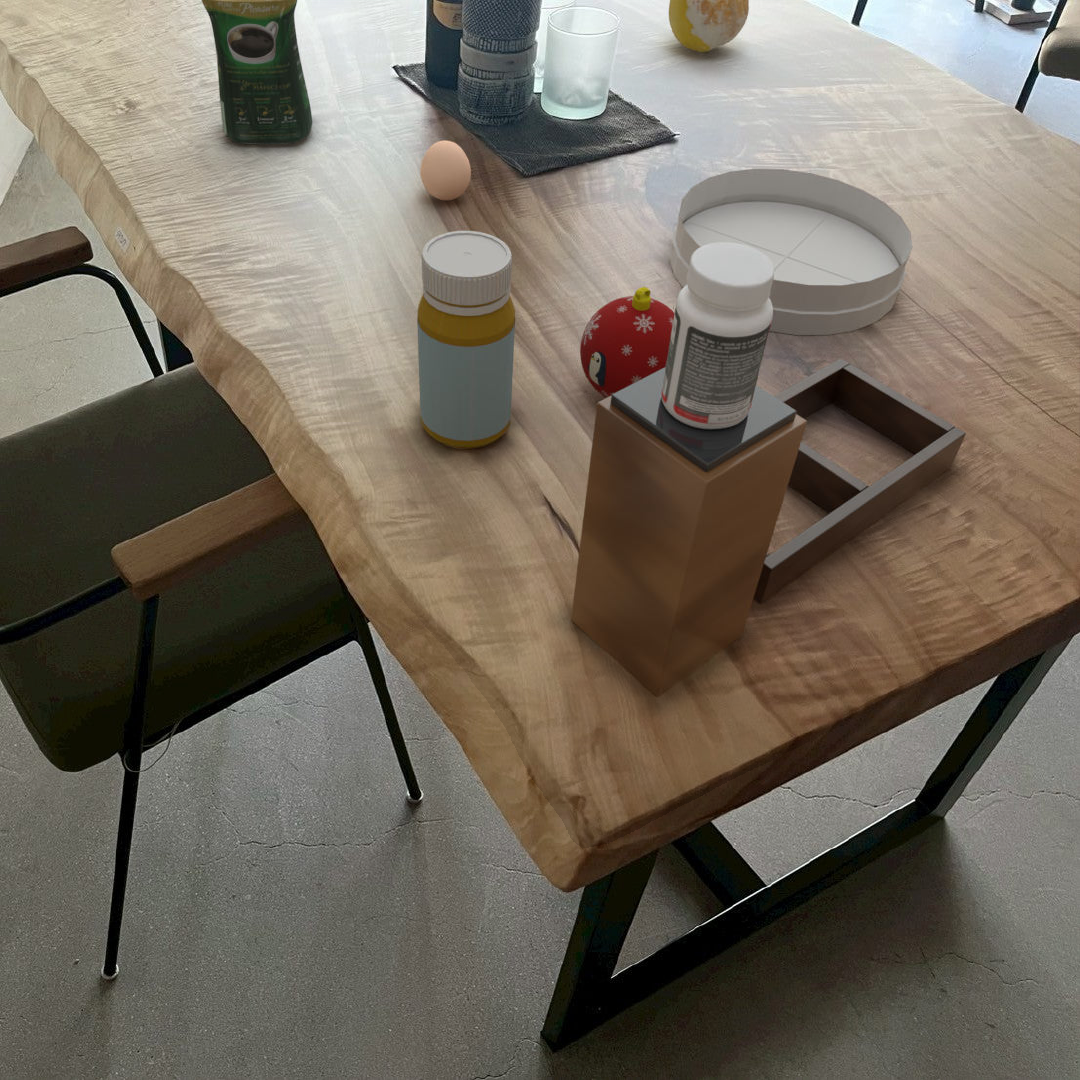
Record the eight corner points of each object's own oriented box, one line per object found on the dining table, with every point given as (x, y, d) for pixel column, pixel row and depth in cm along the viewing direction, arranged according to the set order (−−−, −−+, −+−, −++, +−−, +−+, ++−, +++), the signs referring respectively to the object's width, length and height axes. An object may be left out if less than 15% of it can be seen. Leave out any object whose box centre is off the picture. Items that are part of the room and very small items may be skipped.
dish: (930, 260, 104) (946, 214, 101) (848, 365, 91) (864, 316, 87) (729, 192, 112) (738, 147, 108) (627, 279, 98) (633, 231, 95)
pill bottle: (767, 416, 55) (805, 276, 49) (695, 442, 53) (725, 299, 47) (713, 368, 58) (743, 229, 52) (642, 390, 56) (665, 250, 50)
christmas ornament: (701, 403, 86) (723, 298, 79) (622, 441, 82) (638, 334, 75) (633, 352, 90) (648, 248, 83) (554, 385, 86) (563, 279, 79)
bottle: (412, 403, 84) (405, 232, 73) (496, 391, 85) (502, 222, 75) (432, 459, 79) (428, 286, 68) (521, 445, 81) (530, 274, 70)
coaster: (794, 419, 56) (797, 410, 55) (706, 473, 52) (708, 464, 52) (698, 357, 59) (700, 348, 59) (610, 403, 56) (611, 394, 55)
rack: (951, 467, 82) (966, 432, 79) (760, 605, 71) (771, 569, 68) (829, 391, 88) (840, 357, 85) (635, 507, 77) (641, 471, 74)
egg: (414, 189, 108) (412, 134, 104) (460, 183, 110) (460, 128, 106) (430, 213, 105) (429, 156, 101) (477, 205, 107) (478, 149, 103)
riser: (742, 635, 69) (808, 420, 56) (657, 697, 65) (706, 482, 52) (655, 565, 73) (698, 350, 60) (570, 619, 69) (596, 402, 56)
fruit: (648, 48, 139) (658, -34, 132) (693, 29, 145) (705, -51, 138) (711, 71, 135) (726, -12, 128) (755, 50, 141) (771, -31, 134)
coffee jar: (314, 117, 119) (296, -65, 106) (311, 148, 114) (292, -39, 100) (227, 116, 118) (197, -67, 105) (220, 148, 112) (188, -42, 99)
